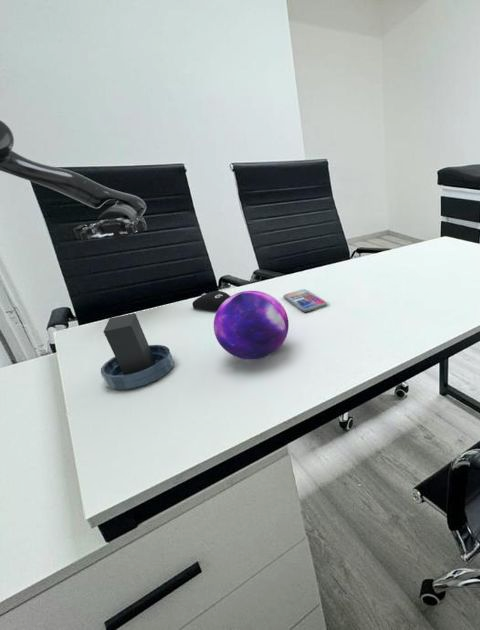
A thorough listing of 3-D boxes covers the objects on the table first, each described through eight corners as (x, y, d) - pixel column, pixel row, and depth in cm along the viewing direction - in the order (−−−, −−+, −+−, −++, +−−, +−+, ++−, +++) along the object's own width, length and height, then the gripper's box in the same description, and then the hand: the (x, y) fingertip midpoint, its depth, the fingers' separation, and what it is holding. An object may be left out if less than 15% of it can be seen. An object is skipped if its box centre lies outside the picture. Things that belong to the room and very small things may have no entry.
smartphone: (304, 288, 120) (328, 302, 109) (305, 291, 120) (328, 305, 110) (281, 294, 115) (303, 310, 105) (282, 297, 116) (304, 313, 105)
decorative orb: (242, 338, 95) (225, 281, 88) (302, 336, 94) (290, 279, 87) (211, 374, 81) (189, 310, 75) (281, 372, 81) (265, 307, 74)
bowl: (97, 397, 76) (89, 382, 74) (120, 364, 86) (114, 351, 85) (166, 383, 79) (160, 369, 77) (180, 353, 89) (175, 340, 88)
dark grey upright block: (127, 382, 79) (103, 331, 74) (131, 367, 84) (109, 318, 79) (152, 375, 81) (131, 325, 75) (155, 361, 86) (135, 312, 81)
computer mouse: (221, 314, 107) (217, 301, 106) (190, 309, 111) (185, 296, 110) (241, 303, 114) (238, 291, 112) (210, 299, 118) (206, 287, 116)
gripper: (80, 210, 101) (62, 222, 88) (144, 204, 106) (136, 213, 93) (92, 239, 104) (77, 254, 91) (153, 231, 110) (147, 244, 97)
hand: (107, 233), depth 92 cm, fingers open, 8 cm apart
